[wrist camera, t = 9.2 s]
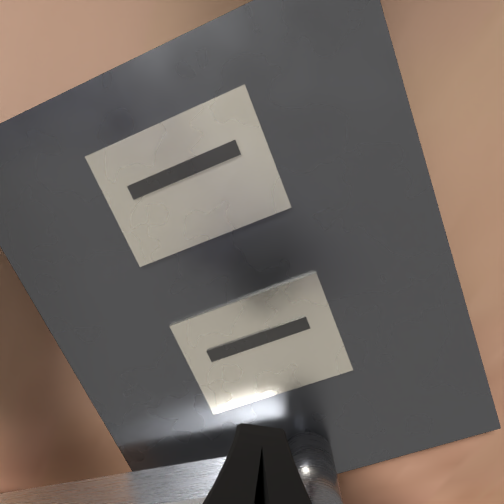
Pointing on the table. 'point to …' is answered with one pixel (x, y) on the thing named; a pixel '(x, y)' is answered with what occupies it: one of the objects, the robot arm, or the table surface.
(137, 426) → the panel
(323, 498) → the cable arm
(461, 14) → the table surface
